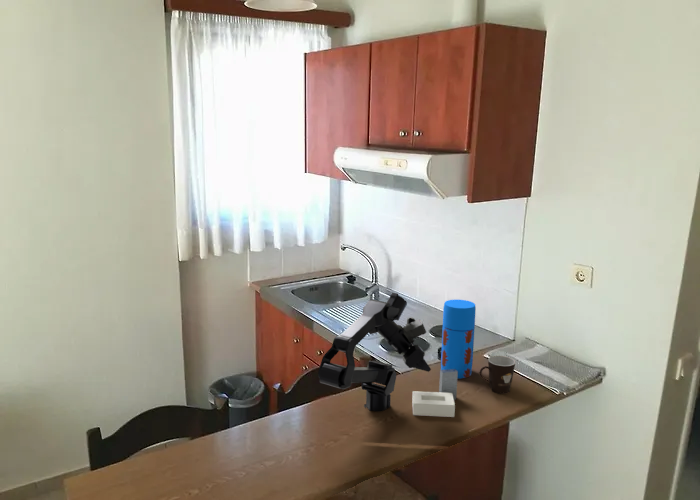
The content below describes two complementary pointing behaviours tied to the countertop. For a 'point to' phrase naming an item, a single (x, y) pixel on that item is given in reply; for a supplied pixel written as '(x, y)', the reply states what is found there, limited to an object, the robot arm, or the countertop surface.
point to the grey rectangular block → (448, 381)
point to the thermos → (458, 336)
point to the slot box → (433, 404)
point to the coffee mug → (500, 373)
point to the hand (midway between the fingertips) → (425, 364)
